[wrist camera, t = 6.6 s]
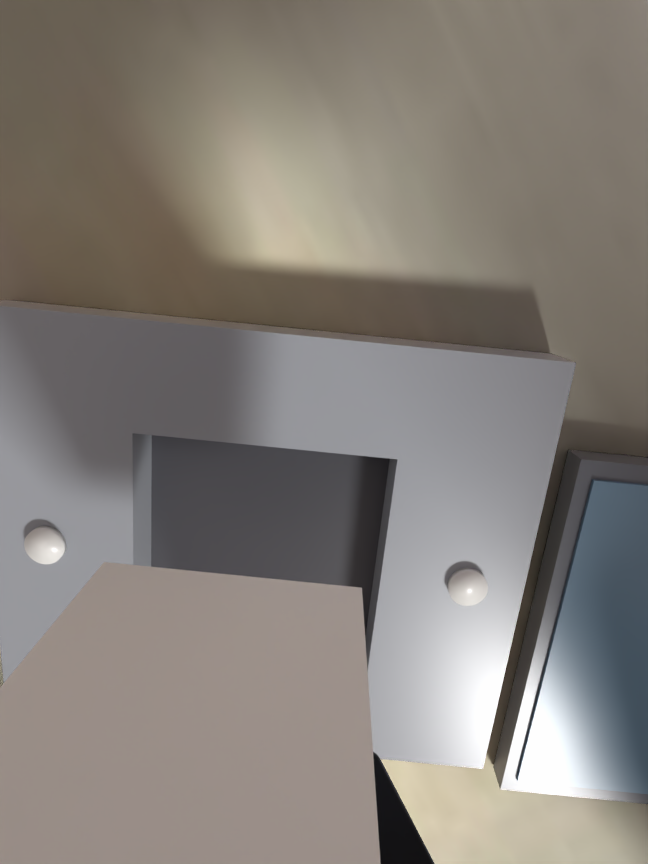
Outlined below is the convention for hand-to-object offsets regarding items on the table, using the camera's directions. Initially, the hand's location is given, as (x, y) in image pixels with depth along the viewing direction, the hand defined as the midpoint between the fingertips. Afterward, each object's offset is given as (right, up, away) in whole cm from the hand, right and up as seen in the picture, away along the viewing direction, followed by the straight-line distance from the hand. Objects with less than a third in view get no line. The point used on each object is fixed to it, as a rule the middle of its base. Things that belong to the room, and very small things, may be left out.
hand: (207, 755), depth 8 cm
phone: (+11, -1, +7) cm, 13 cm away
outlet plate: (0, +2, +7) cm, 7 cm away
